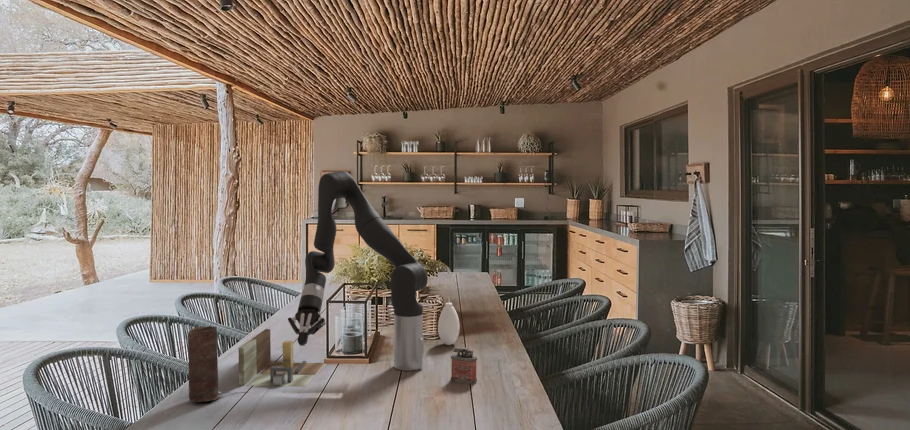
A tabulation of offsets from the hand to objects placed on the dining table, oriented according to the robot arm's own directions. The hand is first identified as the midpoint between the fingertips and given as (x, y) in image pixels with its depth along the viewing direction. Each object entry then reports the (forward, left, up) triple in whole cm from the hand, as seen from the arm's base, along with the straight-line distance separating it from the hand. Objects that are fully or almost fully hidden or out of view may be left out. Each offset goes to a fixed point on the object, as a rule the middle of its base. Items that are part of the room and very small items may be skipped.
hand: (301, 344), depth 190 cm
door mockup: (+1, +13, -6) cm, 15 cm away
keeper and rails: (0, +13, -5) cm, 14 cm away
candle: (+17, +33, -7) cm, 38 cm away
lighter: (-53, +14, -7) cm, 55 cm away
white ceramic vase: (-47, -26, -7) cm, 54 cm away
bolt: (0, +19, -5) cm, 20 cm away
